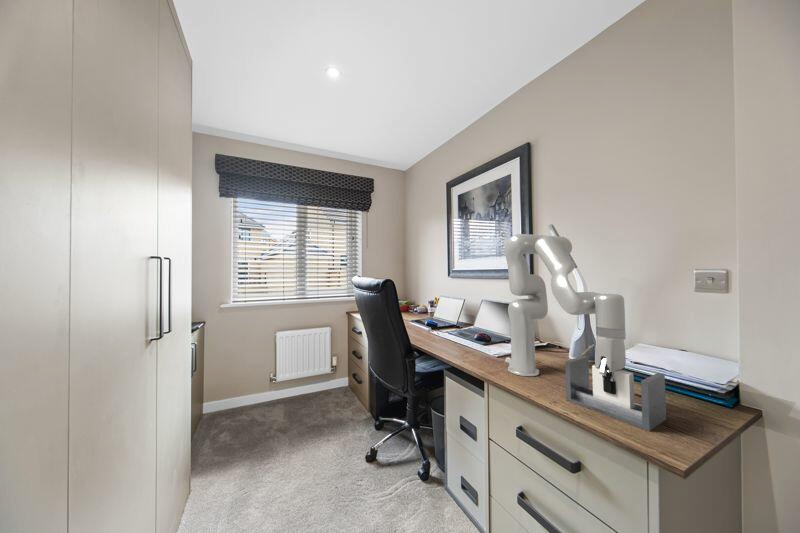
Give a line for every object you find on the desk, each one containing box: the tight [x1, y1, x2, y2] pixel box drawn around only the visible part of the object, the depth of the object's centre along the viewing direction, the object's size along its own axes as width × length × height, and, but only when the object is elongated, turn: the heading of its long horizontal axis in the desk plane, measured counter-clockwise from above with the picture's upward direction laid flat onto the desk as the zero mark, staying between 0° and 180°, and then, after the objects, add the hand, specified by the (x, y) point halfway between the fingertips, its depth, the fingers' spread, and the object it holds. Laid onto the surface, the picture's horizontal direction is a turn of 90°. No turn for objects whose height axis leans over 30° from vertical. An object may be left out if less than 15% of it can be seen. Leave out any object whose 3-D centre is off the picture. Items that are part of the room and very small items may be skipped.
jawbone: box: [579, 344, 596, 375], centre depth 121 cm, size 14×8×15 cm
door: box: [591, 364, 636, 409], centre depth 88 cm, size 10×3×10 cm, turn 30°
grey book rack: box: [564, 355, 667, 432], centre depth 88 cm, size 22×12×13 cm, turn 30°
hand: (612, 391), depth 88 cm, fingers closed on door, 3 cm apart
